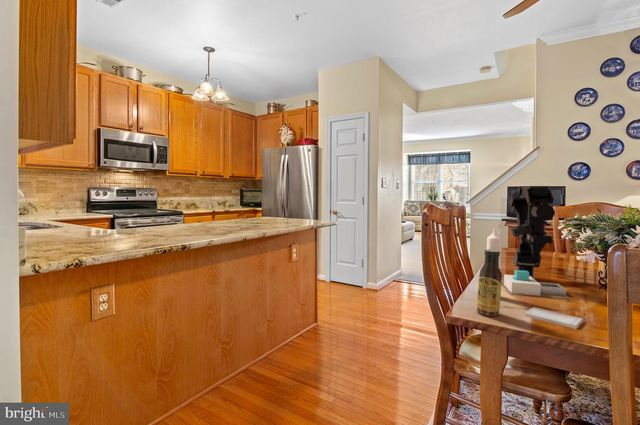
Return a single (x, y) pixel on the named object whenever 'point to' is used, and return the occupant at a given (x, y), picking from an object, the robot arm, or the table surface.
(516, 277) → the plug
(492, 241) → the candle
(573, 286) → the table surface
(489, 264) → the sauce bottle
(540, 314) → the hard drive
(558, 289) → the holster
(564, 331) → the table surface
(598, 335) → the table surface
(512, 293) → the board
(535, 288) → the port box
